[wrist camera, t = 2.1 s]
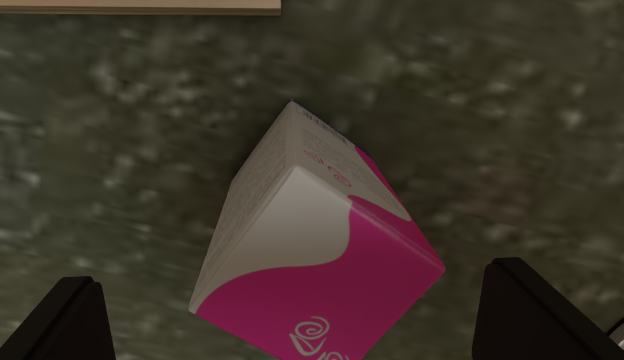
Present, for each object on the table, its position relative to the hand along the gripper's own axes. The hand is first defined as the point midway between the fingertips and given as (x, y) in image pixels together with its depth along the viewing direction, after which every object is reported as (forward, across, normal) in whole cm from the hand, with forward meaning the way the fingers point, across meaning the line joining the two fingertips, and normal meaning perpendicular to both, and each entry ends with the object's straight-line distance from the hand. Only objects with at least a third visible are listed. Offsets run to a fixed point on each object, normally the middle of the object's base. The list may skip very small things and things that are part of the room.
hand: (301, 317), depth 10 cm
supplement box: (+13, -1, 0) cm, 13 cm away
